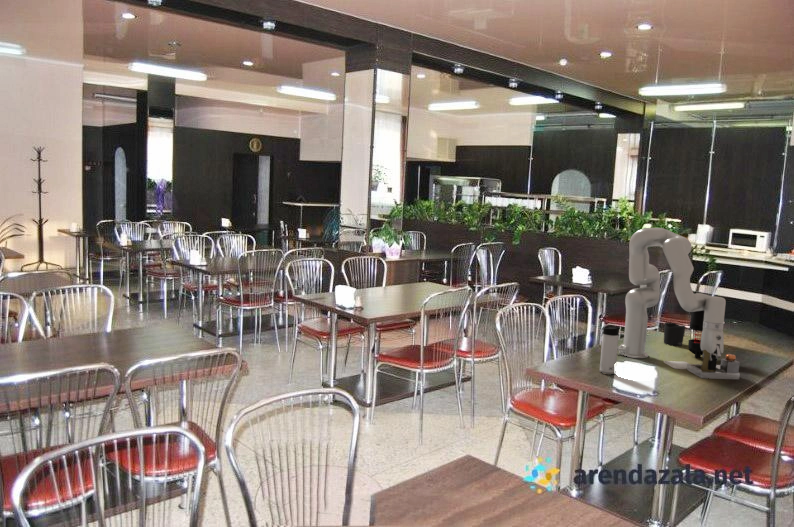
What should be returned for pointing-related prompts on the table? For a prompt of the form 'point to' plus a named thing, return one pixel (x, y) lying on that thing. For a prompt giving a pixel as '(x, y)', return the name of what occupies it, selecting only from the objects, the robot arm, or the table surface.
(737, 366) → the housing
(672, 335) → the pen holder
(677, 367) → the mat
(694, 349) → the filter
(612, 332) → the travel mug
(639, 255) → the robot arm
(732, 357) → the plunger
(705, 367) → the brown waisted column
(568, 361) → the table surface
